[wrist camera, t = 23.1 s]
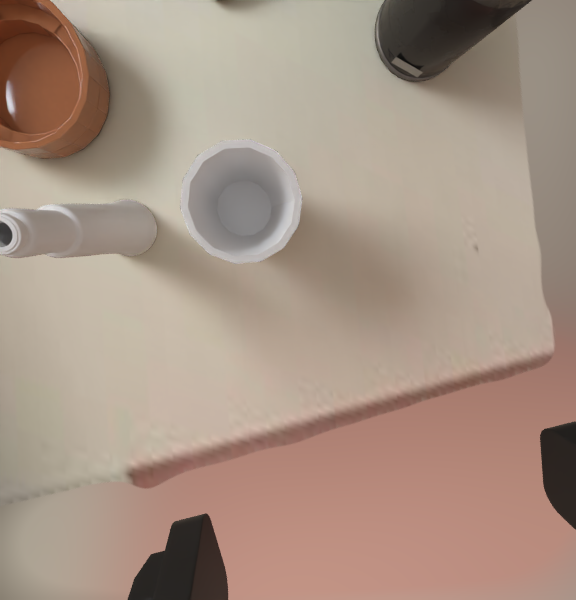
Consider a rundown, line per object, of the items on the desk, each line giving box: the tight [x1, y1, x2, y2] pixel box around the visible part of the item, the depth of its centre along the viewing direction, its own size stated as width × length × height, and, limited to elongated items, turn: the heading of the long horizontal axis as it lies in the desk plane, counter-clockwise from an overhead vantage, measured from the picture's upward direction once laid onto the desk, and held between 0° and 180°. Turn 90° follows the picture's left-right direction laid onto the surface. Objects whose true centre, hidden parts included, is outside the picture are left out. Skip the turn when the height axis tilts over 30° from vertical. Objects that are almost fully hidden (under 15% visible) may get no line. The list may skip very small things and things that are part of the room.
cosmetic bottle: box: [0, 199, 157, 258], centre depth 31 cm, size 6×6×22 cm
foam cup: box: [180, 139, 303, 264], centre depth 36 cm, size 10×9×13 cm
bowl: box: [0, 0, 110, 159], centre depth 35 cm, size 13×13×6 cm
